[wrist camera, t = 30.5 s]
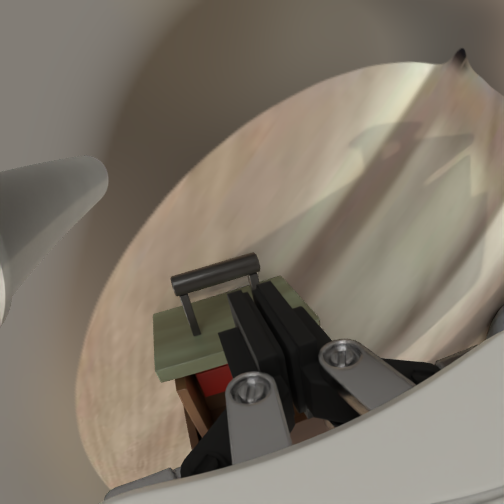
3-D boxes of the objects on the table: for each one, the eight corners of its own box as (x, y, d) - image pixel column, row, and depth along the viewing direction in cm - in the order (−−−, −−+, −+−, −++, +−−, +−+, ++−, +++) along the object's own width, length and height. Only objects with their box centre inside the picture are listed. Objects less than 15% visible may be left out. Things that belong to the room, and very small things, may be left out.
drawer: (133, 263, 24) (126, 311, 17) (271, 224, 27) (312, 254, 20) (197, 411, 31) (210, 466, 24) (297, 377, 34) (327, 425, 27)
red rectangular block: (273, 331, 29) (283, 346, 27) (278, 354, 30) (287, 370, 28) (191, 357, 28) (195, 375, 25) (200, 379, 29) (205, 397, 26)
